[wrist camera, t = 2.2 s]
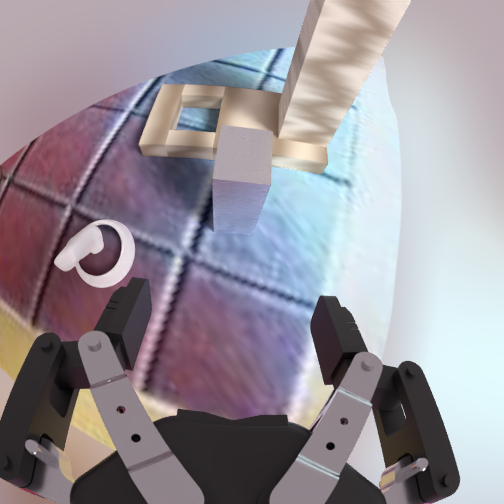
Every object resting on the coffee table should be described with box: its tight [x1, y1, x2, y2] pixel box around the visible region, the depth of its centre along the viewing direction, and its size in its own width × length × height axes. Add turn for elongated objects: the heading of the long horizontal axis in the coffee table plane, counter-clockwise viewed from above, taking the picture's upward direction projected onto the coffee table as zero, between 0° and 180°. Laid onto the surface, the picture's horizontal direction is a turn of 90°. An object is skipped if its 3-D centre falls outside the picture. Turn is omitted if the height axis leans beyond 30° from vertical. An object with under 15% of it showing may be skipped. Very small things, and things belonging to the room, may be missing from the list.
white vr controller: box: [54, 219, 135, 288], centre depth 23 cm, size 8×12×7 cm
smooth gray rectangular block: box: [212, 125, 273, 236], centre depth 24 cm, size 4×5×11 cm
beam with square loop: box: [139, 0, 411, 174], centre depth 20 cm, size 22×11×26 cm, turn 86°
